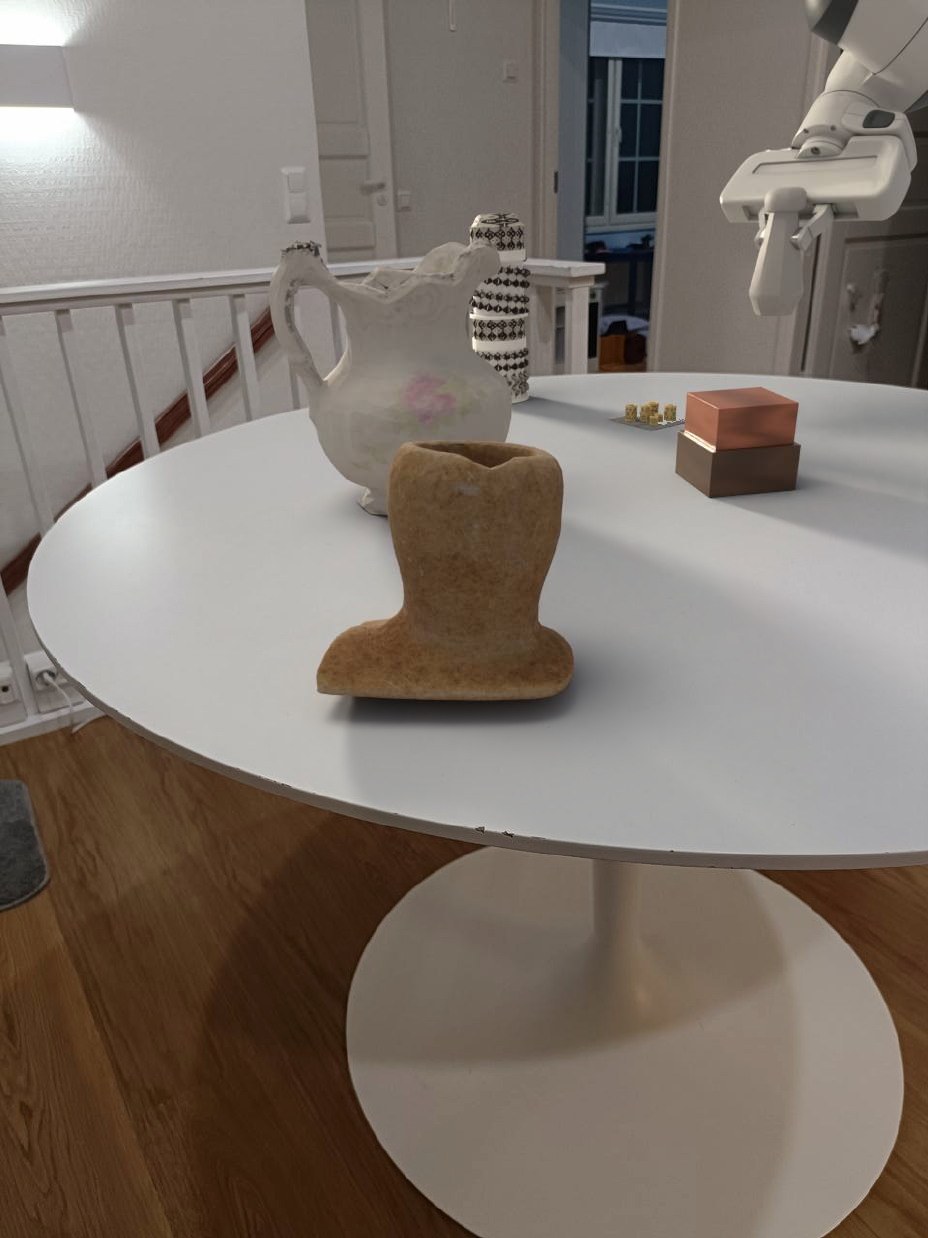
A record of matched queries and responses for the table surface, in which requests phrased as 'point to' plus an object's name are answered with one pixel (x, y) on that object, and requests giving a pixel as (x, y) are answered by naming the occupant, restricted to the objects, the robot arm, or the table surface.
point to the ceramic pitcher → (395, 360)
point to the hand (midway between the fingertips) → (778, 246)
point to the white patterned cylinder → (503, 302)
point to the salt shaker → (779, 256)
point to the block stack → (738, 442)
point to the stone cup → (463, 580)
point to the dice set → (649, 416)
